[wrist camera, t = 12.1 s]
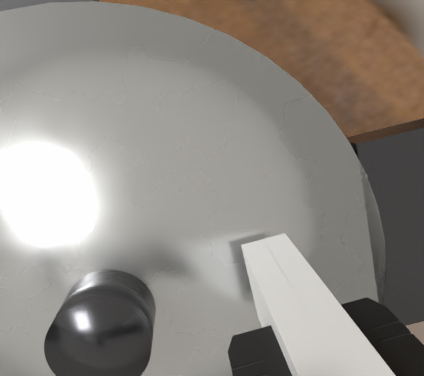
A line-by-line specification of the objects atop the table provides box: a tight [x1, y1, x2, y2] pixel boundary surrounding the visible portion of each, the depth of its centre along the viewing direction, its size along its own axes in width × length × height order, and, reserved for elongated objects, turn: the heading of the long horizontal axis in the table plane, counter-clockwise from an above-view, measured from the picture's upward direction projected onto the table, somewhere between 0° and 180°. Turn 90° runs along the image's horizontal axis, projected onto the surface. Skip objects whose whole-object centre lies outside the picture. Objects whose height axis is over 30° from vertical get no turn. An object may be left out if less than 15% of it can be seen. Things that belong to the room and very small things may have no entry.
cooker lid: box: [0, 1, 424, 376], centre depth 13 cm, size 22×19×4 cm
